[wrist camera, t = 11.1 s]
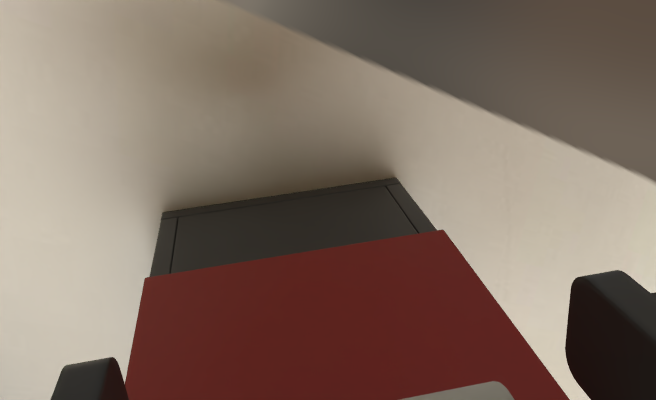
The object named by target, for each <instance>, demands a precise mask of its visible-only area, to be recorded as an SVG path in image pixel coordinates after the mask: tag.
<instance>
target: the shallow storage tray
mask: <svg viewBox="0 0 656 400" xmlns="http://www.w3.org/2000/svg"><path fill="white" fill-rule="evenodd" d="M431 231H437V230H436V228H435V227H434V226H433V225H432V223H431V222H430V221H429V219H428V218H427V217H426V216H425V214H424V213H423V212H422V210H421V209H420V208H419V206H418V205H417V204H416V203H415V201H414V200H413V199H412V197H411V196H410V195H409V194H408V192H407V191H406V190H405V188H404V187H403V186H402V184H401V183H400V182H399V180H398V179H397V178H391V179H385V180H378V181H371V182H365V183H358V184H351V185H344V186H338V187H331V188H324V189H318V190H311V191H304V192H298V193H291V194H284V195H278V196H271V197H264V198H258V199H251V200H244V201H237V202H231V203H224V204H217V205H211V206H204V207H197V208H191V209H184V210H177V211H171V212H164V213H162V218H161V224H160V228H159V233H158V238H157V243H156V248H155V253H154V258H153V263H152V268H151V273H150V277H154V276H160V275H166V274H172V273H178V272H184V271H191V270H197V269H203V268H209V267H215V266H221V265H228V264H234V263H240V262H246V261H252V260H258V259H265V258H271V257H277V256H283V255H289V254H295V253H302V252H308V251H314V250H320V249H326V248H332V247H339V246H345V245H351V244H357V243H363V242H370V241H376V240H382V239H388V238H394V237H400V236H407V235H413V234H419V233H425V232H431Z"/></svg>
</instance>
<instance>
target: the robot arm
mask: <svg viewBox="0 0 656 400" xmlns="http://www.w3.org/2000/svg"><path fill="white" fill-rule="evenodd" d="M565 350H566V358H567V362H568V365H569V368H570V371H571V373H572V375H573V377H574V379H575V380H576V382H577V383H578V384H579V386H580V387H581V388H582V389H583V390H584V392H585V393H586V394H587V395H588V397H589V398H590V399H591V400H656V293H650V292H648V291H647V290H646V289H645V288H643V287H642V286H641V285H640V284H638V283H637V282H636V281H635V280H633V279H632V278H631V277H630V276H629V275H627V274H626V273H624V272H622V271H619V270H616V271H610V272H604V273H599V274H593V275H587V276H582V277H577V278H576V279H575V280H574V281H573V283H572V286H571V294H570V304H569V314H568V325H567V335H566V347H565ZM51 400H129V398H128V394H127V391H126V388H125V384H124V381H123V377H122V374H121V371H120V367H119V365H118V362H117V361H116V359H115V358H113V357H111V358H105V359H99V360H94V361H88V362H82V363H77V364H71V365H66V366H65V367H64V368H63V369H62V371H61V374H60V376H59V379H58V382H57V384H56V387H55V390H54V393H53V395H52V398H51Z"/></svg>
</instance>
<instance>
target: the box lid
mask: <svg viewBox="0 0 656 400" xmlns="http://www.w3.org/2000/svg"><path fill="white" fill-rule="evenodd" d="M125 388H126V391H127V394H128V398H129V400H569V398H568V397H567V396H566V394H565V393H564V392H563V390H562V389H561V388H560V386H559V385H558V383H557V382H556V381H555V379H554V378H553V377H552V375H551V374H550V373H549V371H548V370H547V369H546V367H545V366H544V365H543V363H542V362H541V361H540V359H539V358H538V357H537V355H536V354H535V352H534V351H533V350H532V348H531V347H530V346H529V344H528V343H527V342H526V340H525V339H524V338H523V336H522V335H521V334H520V332H519V331H518V330H517V328H516V327H515V326H514V324H513V323H512V321H511V320H510V319H509V317H508V316H507V315H506V313H505V312H504V311H503V309H502V308H501V307H500V305H499V304H498V303H497V301H496V300H495V299H494V297H493V296H492V295H491V293H490V292H489V290H488V289H487V288H486V286H485V285H484V284H483V282H482V281H481V280H480V278H479V277H478V276H477V274H476V273H475V272H474V270H473V269H472V268H471V266H470V265H469V264H468V262H467V261H466V260H465V258H464V257H463V255H462V254H461V253H460V251H459V250H458V249H457V247H456V246H455V245H454V243H453V242H452V241H451V239H450V238H449V237H448V235H447V234H446V233H445V231H444V230H437V231H431V232H425V233H419V234H413V235H407V236H400V237H394V238H388V239H382V240H376V241H370V242H363V243H357V244H351V245H345V246H339V247H332V248H326V249H320V250H314V251H308V252H302V253H295V254H289V255H283V256H277V257H271V258H265V259H258V260H252V261H246V262H240V263H234V264H228V265H221V266H215V267H209V268H203V269H197V270H191V271H184V272H178V273H172V274H166V275H160V276H154V277H147V278H145V281H144V286H143V291H142V297H141V302H140V307H139V313H138V318H137V323H136V328H135V334H134V339H133V344H132V349H131V355H130V360H129V365H128V371H127V376H126V381H125Z"/></svg>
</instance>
